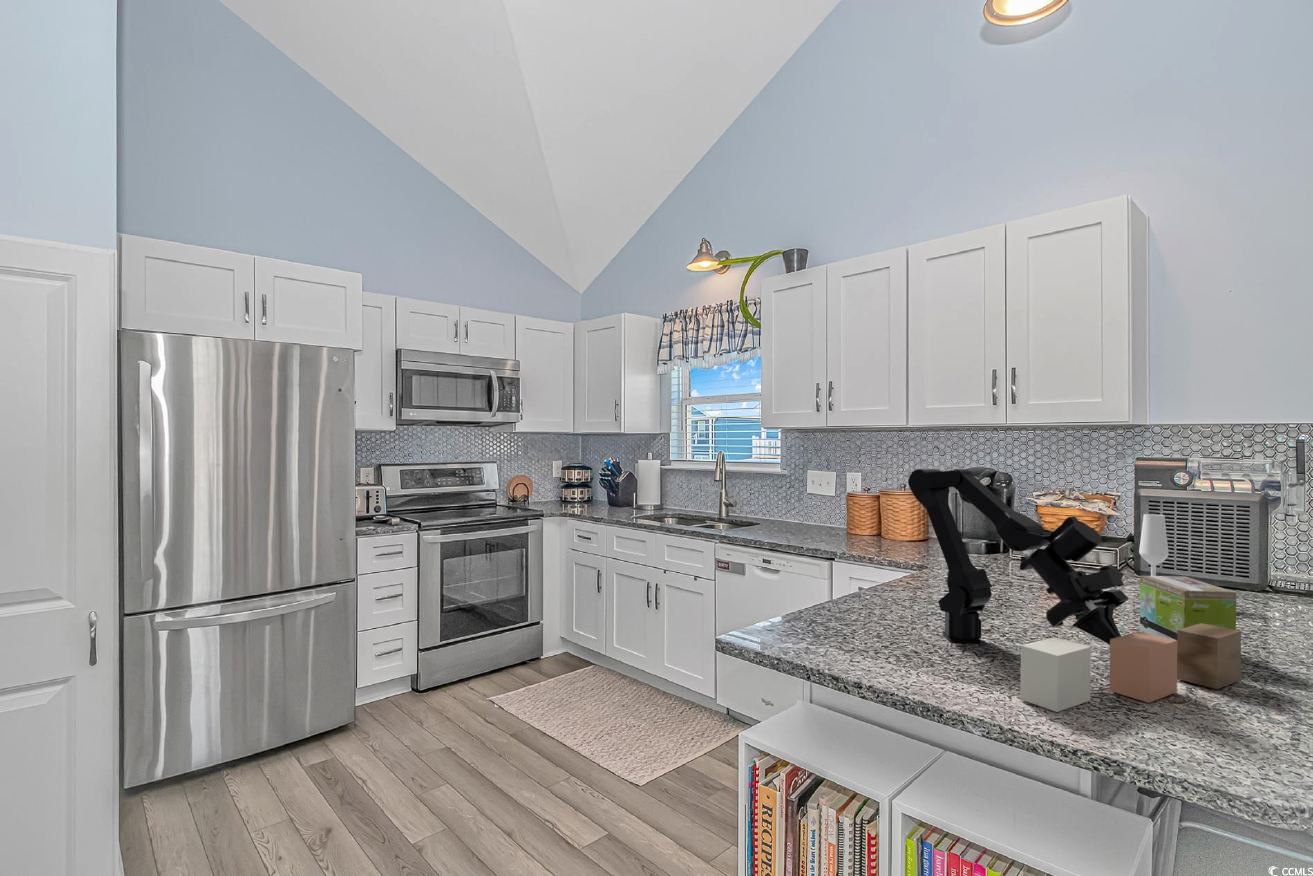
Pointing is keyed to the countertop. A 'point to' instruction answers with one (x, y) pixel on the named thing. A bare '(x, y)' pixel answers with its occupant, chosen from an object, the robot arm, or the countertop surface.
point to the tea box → (1183, 605)
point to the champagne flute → (1153, 540)
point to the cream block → (1055, 673)
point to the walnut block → (1209, 655)
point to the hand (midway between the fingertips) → (1122, 648)
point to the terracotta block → (1143, 666)
